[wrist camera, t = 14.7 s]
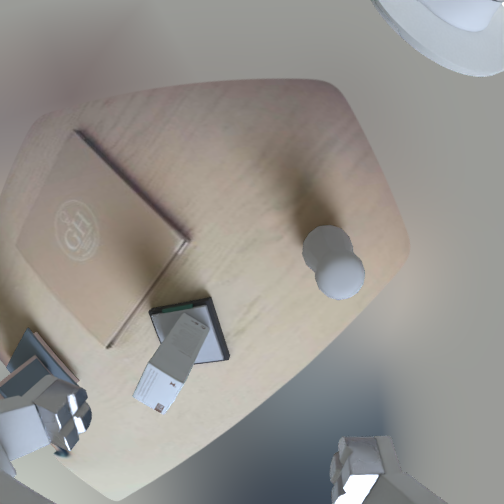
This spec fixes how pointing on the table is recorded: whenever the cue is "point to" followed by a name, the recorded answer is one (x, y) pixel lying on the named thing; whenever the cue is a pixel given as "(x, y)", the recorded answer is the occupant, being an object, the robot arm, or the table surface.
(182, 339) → the cosmetic box
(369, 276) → the table surface
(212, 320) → the scale
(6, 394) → the desk lamp
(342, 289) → the salt shaker
